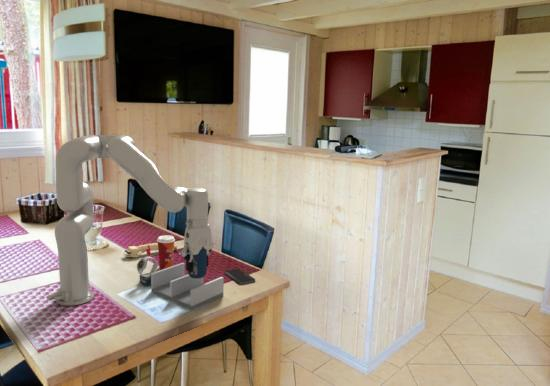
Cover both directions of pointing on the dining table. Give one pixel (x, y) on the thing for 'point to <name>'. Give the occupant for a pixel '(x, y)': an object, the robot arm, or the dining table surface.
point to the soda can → (199, 264)
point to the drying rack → (185, 287)
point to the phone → (239, 276)
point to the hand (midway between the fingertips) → (197, 267)
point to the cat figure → (143, 249)
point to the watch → (146, 278)
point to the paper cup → (165, 251)
